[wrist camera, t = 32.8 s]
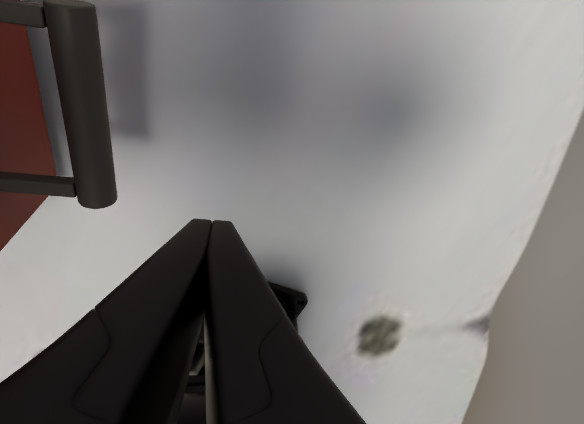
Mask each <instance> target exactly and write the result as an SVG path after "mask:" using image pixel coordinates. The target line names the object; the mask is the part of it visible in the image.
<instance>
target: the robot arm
mask: <svg viewBox="0 0 584 424" xmlns="http://www.w3.org/2000/svg"><path fill="white" fill-rule="evenodd" d="M298 300H301V301H298ZM307 303H308V301H307V296H306V295H305V294H303V293H301V292H298V291H295V290H292V289H289V288H286V287H283V286H280V285H277V284H274V283H271V282H268V281H266V279H265V277H264V276H263V274H262V272H261V271H260V269H259V267H258V266H257V264H256V262H255V261H254V259H253V257H252V256H251V254H250V252H249V251H248V249H247V247H246V246H245V244H244V242H243V240H242V239H241V237H240V235H239V234H238V232H237V230H236V229H235V227H234V225H233V224H232V222H230V221H220V220H215V221H213V222H212V221H211V220H206V219H193V220H191V221H190V222H189V223H188V224H187V225H186V226H185V227H183V228H182V229H181V230H180V231H179V232H178V233H177V234H176V235H175V236H173V237H172V238H171V239H170V240H169V241H168V242H167V243H166V244H164V245H163V246H162V247H161V248H160V249H159V250H158V251H157V252H156V253H154V254H153V255H152V256H151V257H150V258H149V259H148V260H147V261H145V262H144V263H143V264H142V265H141V266H140V267H139V268H138V269H137V270H135V271H134V272H133V273H132V274H131V275H130V276H129V277H128V278H127V279H125V280H124V281H123V282H122V283H121V284H120V285H119V286H118V287H116V288H115V289H114V290H113V291H112V292H111V293H110V294H109V295H108V296H106V297H105V298H104V299H103V300H102V301H101V302H100V303H99V304H97V305H96V306H95V309H92V310H91V311H89V312H88V313H87V314H86V315H85V316H84V317H83V318H82V319H81V320H79V321H78V322H77V323H76V324H75V325H74V326H72V327H71V328H70V329H69V330H68V331H67V332H65V333H64V334H63V335H62V336H61V337H59V338H58V339H57V340H56V341H55V342H54V343H52V344H51V345H50V346H48V347H47V348H46V349H45V350H43V351H42V352H41V353H39V354H38V355H37V356H35V357H34V358H33V359H32V360H30V361H29V362H28V363H26V364H25V365H24V366H22V367H21V368H20V369H18V370H17V371H16V372H14V373H13V374H12V375H10V376H9V377H8V378H6V379H5V380H4V381H2V382H1V383H0V424H366V423H365V421H364V420H363V419H362V418H361V416H360V415H359V414H358V413H357V411H356V410H355V409H354V407H353V406H352V405H351V404H350V402H349V401H348V400H347V399H346V397H345V396H344V395H343V394H342V392H341V391H340V390H339V389H338V387H337V386H336V385H335V383H334V382H333V381H332V380H331V378H330V377H329V376H328V375H327V373H326V372H325V371H324V369H323V368H322V367H321V365H320V364H319V363H318V361H317V360H316V359H315V357H314V356H313V355H312V353H311V352H310V351H309V349H308V348H307V346H306V345H305V343H304V342H303V340H302V339H301V337H300V335H299V334H298V325H297V317H298V315H299V314H300V313H301V312H302V310H303V309H304V308H305V306H306V305H307Z"/></svg>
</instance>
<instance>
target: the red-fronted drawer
mask: <svg viewBox="0 0 584 424" xmlns="http://www.w3.org/2000/svg"><path fill="white" fill-rule="evenodd" d="M26 26H31V27H38V28H46V27H47V29H48V35H49V41H50V46H51V52H52V57H53V63H54V69H55V74H56V80H57V85H58V91H59V97H60V102H61V108H62V113H63V119H64V125H65V130H66V136H67V142H68V147H69V153H70V158H71V164H72V170H73V175H74V177H62V176H56V171H55V166H54V161H53V156H52V151H51V146H50V141H49V137H48V132H47V127H46V122H45V117H44V112H43V107H42V102H41V98H40V93H39V88H38V83H37V78H36V73H35V68H34V63H33V59H32V54H31V49H30V44H29V39H28V34H27V29H26ZM49 195H50V196H63V197H76V196H77V198H78V202H79V203H80V205H82V206H83V207H86V208H91V209H100V208H105V207H108V206H110V205H112V204H114V203H115V202H116V200H117V190H116V181H115V172H114V163H113V155H112V146H111V137H110V128H109V119H108V111H107V102H106V93H105V84H104V75H103V67H102V58H101V49H100V40H99V31H98V23H97V14H96V7H95V5H94V4H91V3H89V2H85V1H80V0H43V4H38V3H31V2H24V1H21V0H0V251H1V250H2V249H3V248H4V246H5V245H6V244H7V243H8V242H9V241H10V239H11V238H12V237H13V236H14V235H15V234H16V233H17V231H18V230H19V229H20V228H21V227H22V226H23V224H24V223H25V222H26V221H27V220H28V219H29V218H30V216H31V215H32V214H33V213H34V212H35V211H36V209H37V208H38V207H39V206H40V205H41V204H42V203H43V201H44V200H45V199H46V198H47V197H48V196H49Z"/></svg>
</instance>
